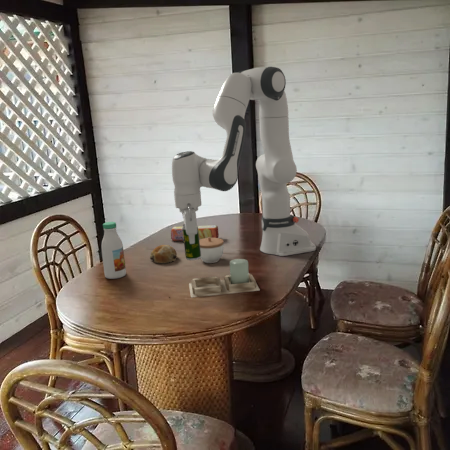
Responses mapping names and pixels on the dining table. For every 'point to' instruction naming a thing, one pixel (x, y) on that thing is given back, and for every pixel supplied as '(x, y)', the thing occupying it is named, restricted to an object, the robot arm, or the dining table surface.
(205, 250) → the lidded jar
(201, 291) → the caddy
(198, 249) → the beer can
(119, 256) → the milk bottle
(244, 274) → the mint green domed part
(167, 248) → the bread roll
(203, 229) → the snack package
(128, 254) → the dining table surface
